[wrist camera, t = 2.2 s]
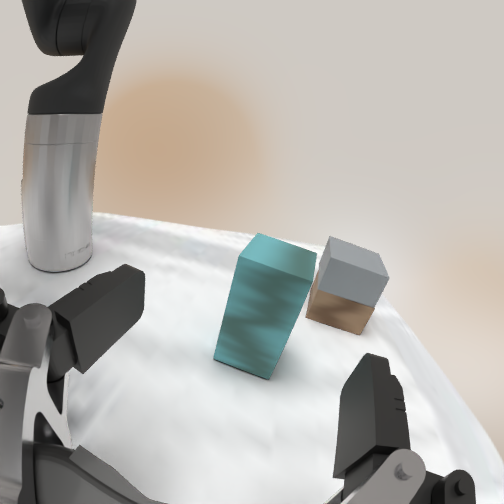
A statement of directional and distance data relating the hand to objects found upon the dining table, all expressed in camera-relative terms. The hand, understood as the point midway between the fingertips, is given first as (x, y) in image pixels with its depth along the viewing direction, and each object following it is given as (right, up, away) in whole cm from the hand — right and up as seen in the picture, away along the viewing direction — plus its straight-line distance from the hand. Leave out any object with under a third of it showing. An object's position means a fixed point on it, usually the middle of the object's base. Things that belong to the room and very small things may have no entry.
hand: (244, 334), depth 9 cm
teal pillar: (0, -6, +15) cm, 16 cm away
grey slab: (+12, -1, +23) cm, 26 cm away
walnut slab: (+11, -5, +25) cm, 27 cm away
